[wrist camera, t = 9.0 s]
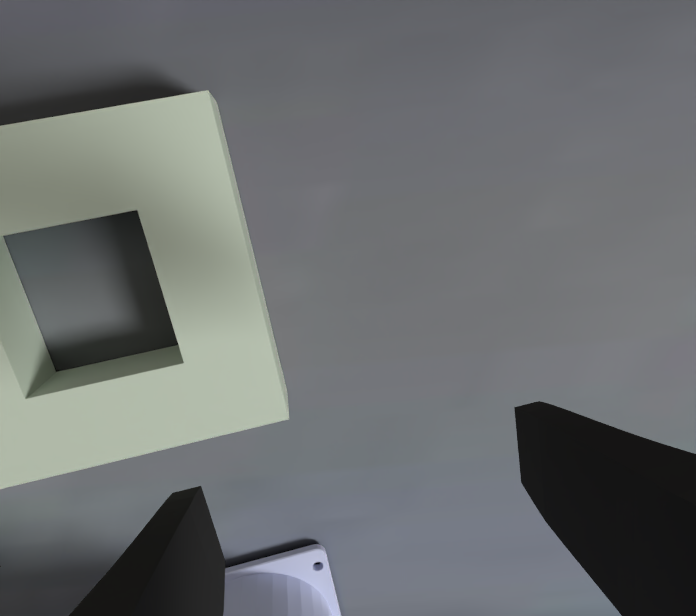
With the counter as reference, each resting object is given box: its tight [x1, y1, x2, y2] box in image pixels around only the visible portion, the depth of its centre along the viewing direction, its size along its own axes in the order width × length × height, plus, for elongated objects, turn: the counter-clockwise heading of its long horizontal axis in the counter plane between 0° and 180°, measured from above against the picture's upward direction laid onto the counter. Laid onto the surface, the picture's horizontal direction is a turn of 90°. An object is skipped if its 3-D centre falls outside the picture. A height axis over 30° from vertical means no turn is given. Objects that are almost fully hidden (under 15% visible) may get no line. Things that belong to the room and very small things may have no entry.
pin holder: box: [0, 90, 289, 489], centre depth 17 cm, size 12×12×2 cm
